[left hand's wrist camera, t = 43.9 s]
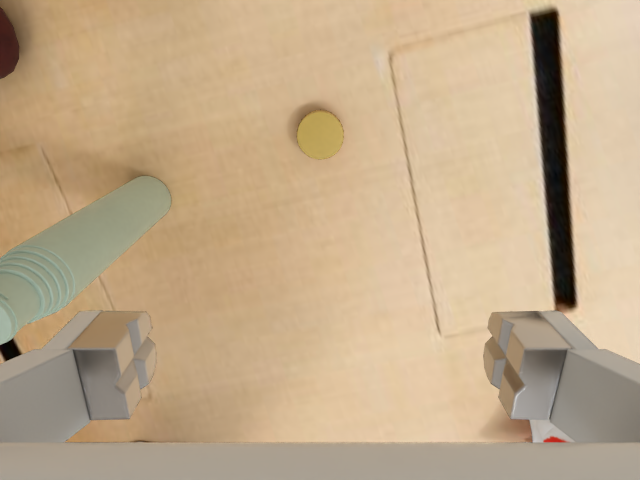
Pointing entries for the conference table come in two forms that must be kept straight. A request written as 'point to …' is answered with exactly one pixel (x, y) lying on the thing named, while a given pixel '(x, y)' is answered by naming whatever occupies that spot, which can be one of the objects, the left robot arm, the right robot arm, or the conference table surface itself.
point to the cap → (320, 134)
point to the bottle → (75, 252)
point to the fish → (547, 432)
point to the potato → (7, 46)
